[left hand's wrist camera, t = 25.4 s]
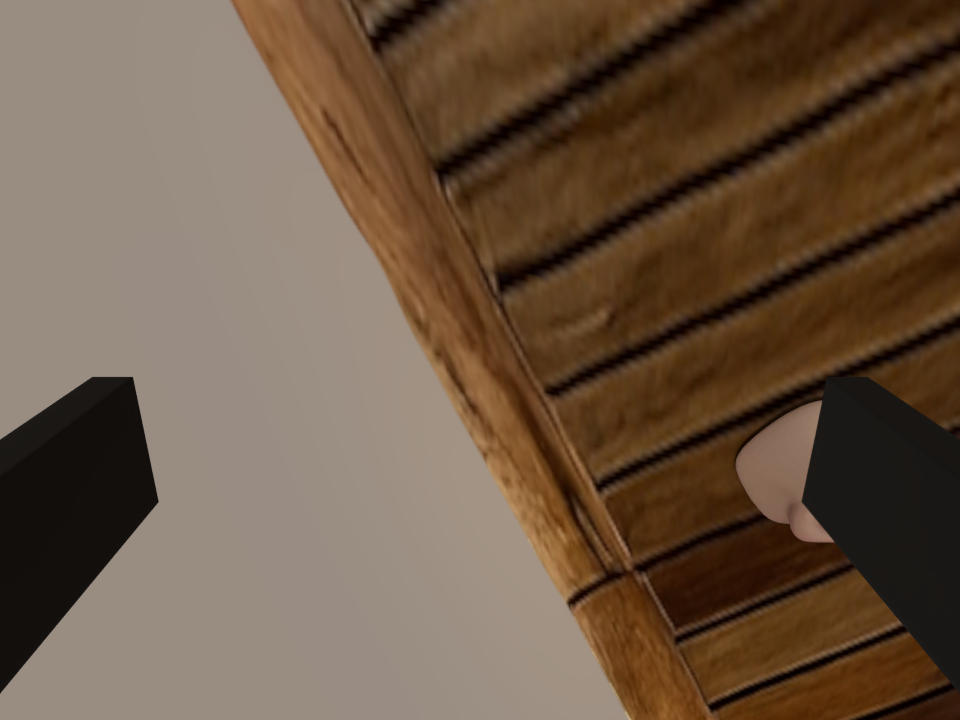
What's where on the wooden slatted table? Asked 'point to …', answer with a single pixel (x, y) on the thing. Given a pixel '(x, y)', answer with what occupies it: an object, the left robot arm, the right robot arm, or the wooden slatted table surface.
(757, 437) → the anatomical model
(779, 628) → the wooden slatted table surface
